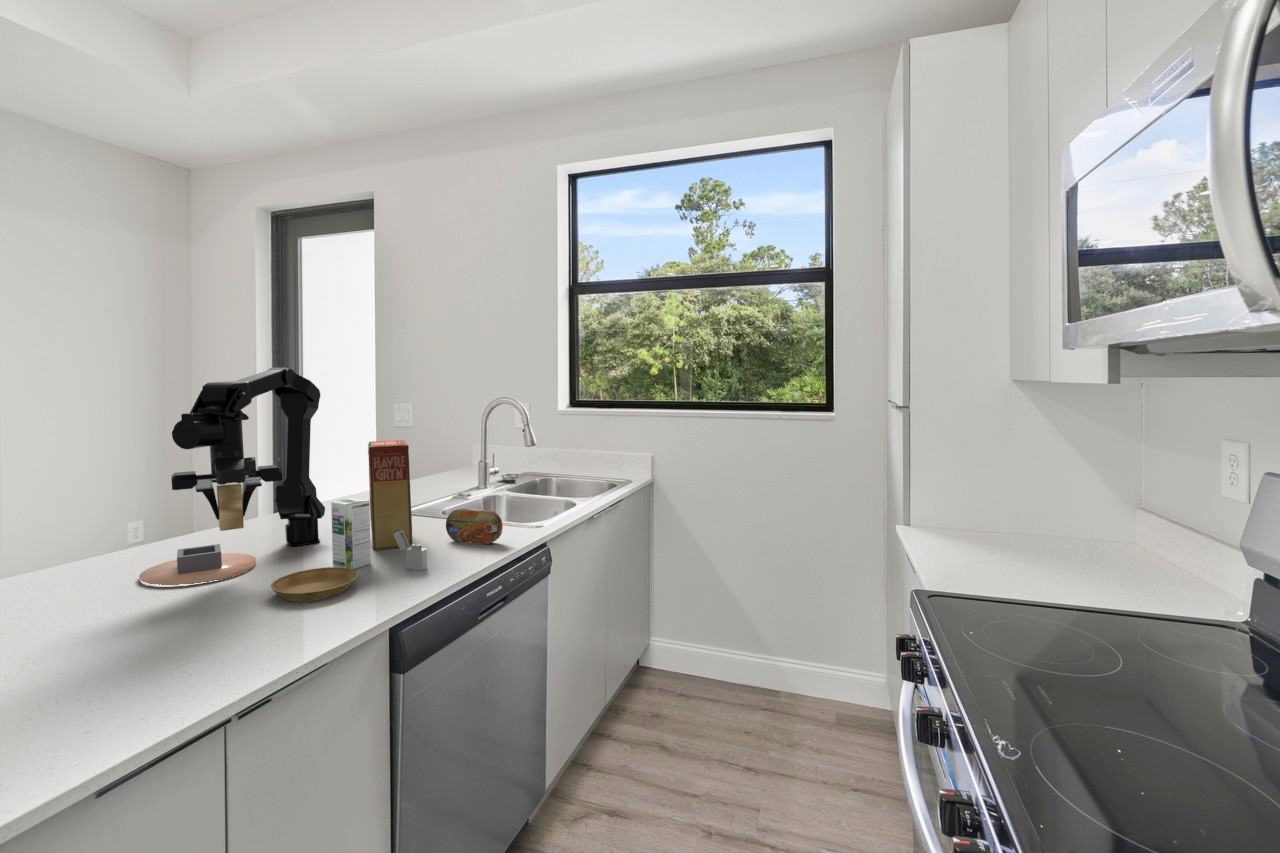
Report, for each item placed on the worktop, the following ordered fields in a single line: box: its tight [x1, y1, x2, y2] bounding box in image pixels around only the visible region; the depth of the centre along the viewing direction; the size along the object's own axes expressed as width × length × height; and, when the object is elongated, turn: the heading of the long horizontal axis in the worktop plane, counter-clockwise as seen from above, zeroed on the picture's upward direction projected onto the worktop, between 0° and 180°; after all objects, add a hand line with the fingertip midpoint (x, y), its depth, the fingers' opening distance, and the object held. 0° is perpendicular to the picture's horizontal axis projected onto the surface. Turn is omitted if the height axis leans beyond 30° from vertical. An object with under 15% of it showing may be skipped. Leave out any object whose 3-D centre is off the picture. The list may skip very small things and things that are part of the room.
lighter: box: [394, 530, 428, 571], centre depth 132 cm, size 7×2×8 cm, turn 76°
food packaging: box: [367, 439, 413, 551], centre depth 152 cm, size 13×9×25 cm
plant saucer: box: [270, 566, 358, 602], centre depth 118 cm, size 15×15×3 cm
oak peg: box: [216, 483, 245, 532], centre depth 127 cm, size 4×4×9 cm
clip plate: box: [138, 543, 257, 585], centre depth 129 cm, size 20×20×4 cm
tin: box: [445, 508, 504, 545], centre depth 153 cm, size 15×3×8 cm, turn 73°
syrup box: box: [330, 497, 372, 570], centre depth 133 cm, size 6×6×14 cm
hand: (230, 517), depth 127 cm, fingers closed on oak peg, 4 cm apart
